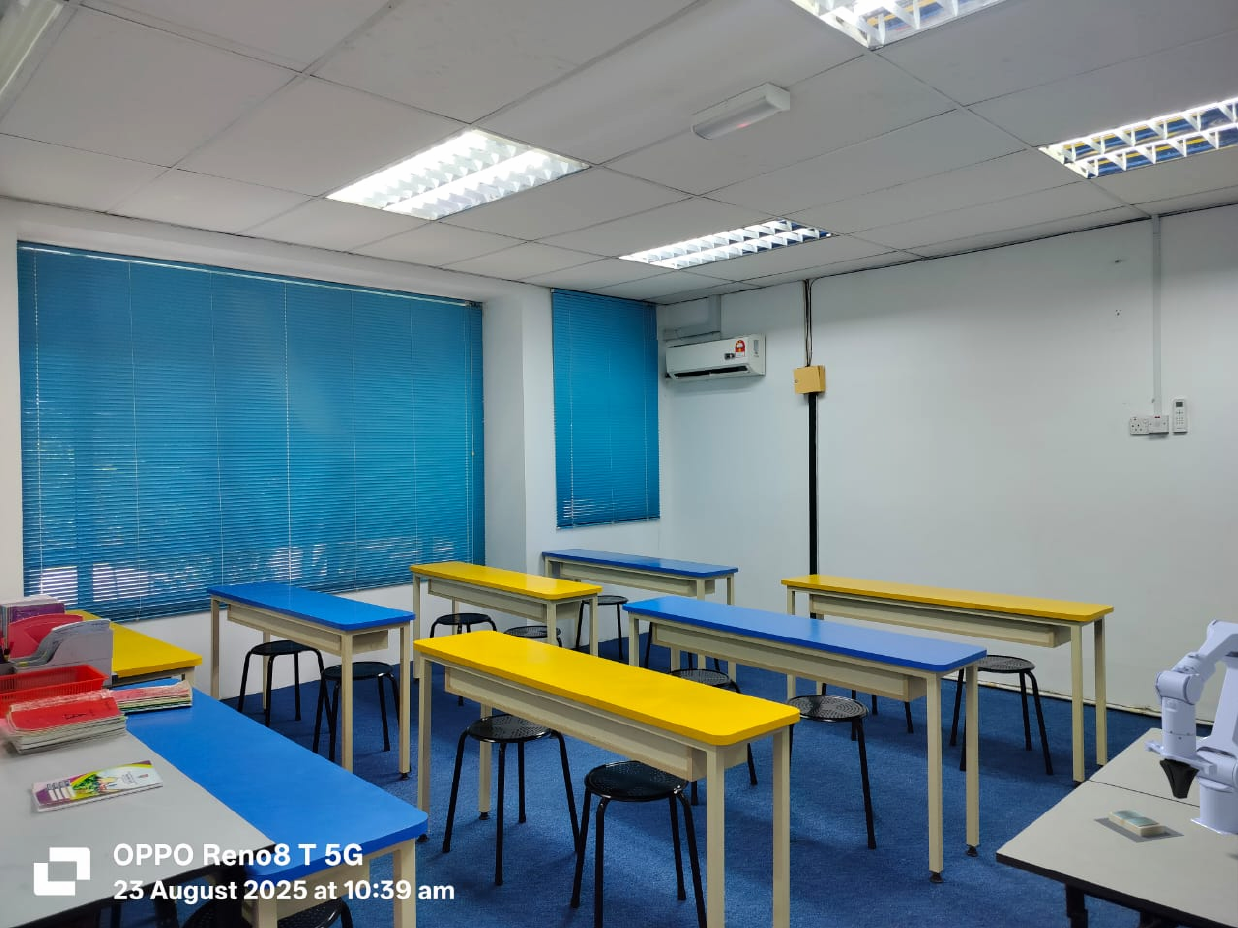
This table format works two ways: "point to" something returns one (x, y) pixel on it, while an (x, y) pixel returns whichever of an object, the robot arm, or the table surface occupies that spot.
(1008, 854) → the table surface
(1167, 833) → the rubber mat
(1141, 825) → the birch framed mirror
